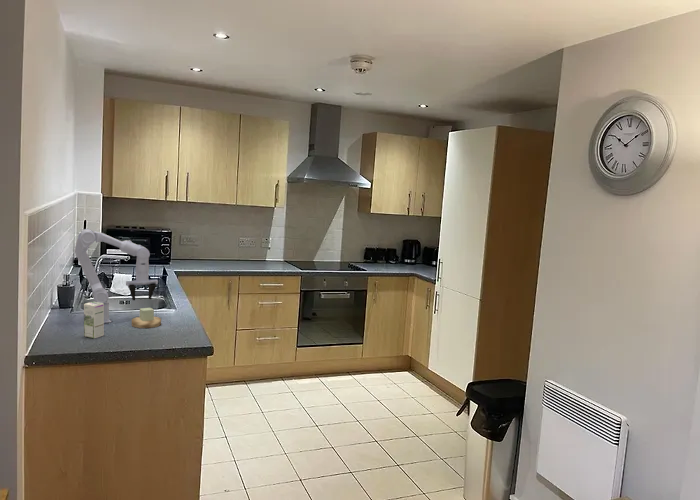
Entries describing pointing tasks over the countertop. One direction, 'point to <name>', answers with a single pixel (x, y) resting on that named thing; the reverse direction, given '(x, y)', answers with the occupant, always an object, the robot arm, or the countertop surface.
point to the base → (146, 323)
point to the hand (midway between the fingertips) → (141, 299)
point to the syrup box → (93, 319)
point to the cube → (146, 314)
